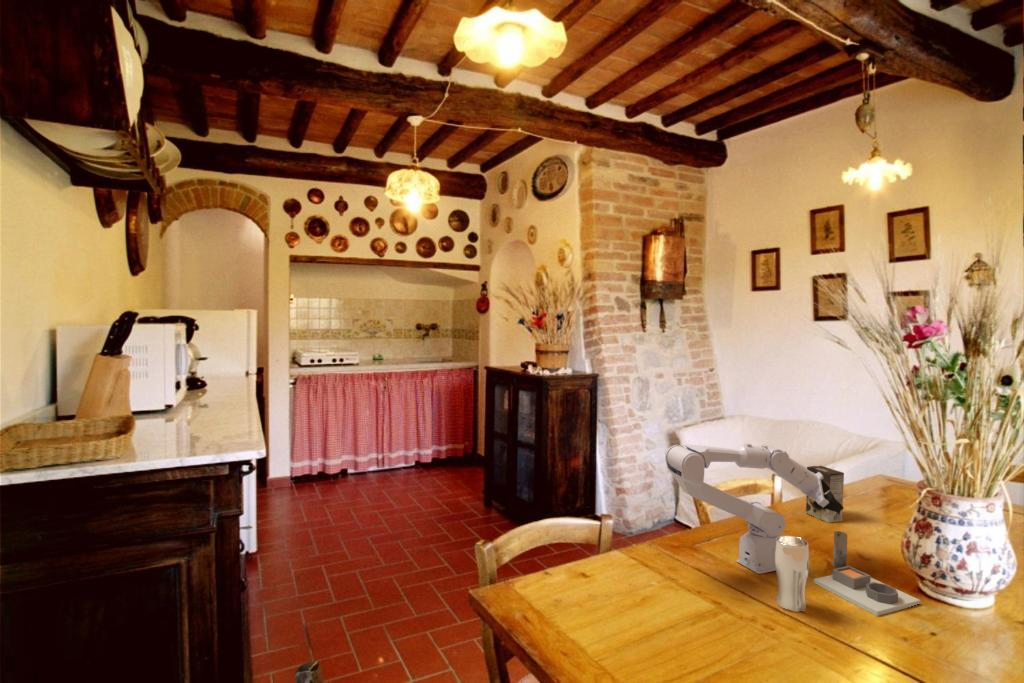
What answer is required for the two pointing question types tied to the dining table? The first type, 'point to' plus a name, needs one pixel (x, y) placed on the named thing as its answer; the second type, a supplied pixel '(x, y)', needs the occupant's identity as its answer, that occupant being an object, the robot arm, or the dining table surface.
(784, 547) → the beer glass
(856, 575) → the button
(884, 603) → the panel
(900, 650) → the dining table surface
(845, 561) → the metal cylinder
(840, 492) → the coffee box
